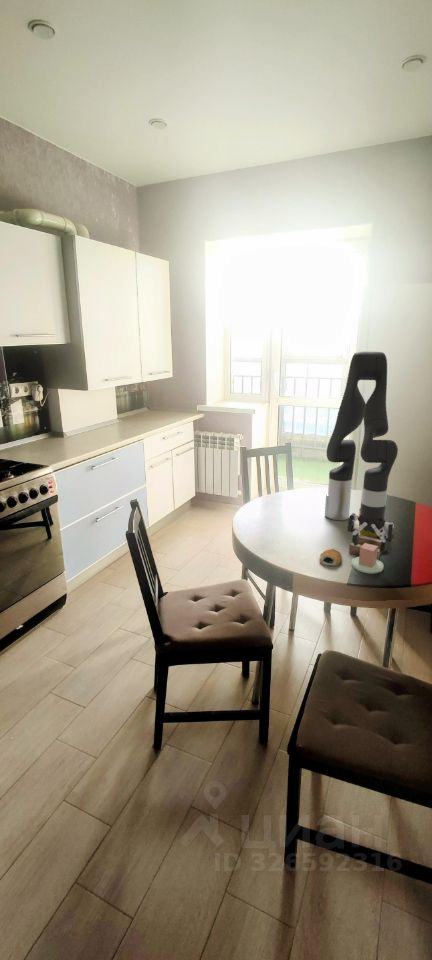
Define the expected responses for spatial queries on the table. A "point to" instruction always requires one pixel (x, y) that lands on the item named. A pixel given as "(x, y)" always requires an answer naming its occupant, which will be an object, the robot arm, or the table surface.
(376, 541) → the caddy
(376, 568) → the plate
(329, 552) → the pastry
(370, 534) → the flower pot
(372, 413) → the robot arm
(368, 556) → the part
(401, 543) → the table surface
